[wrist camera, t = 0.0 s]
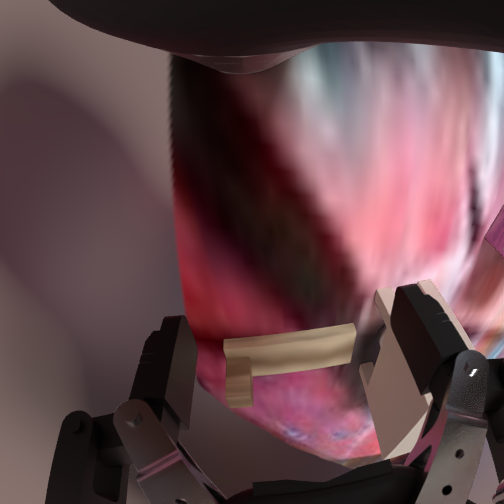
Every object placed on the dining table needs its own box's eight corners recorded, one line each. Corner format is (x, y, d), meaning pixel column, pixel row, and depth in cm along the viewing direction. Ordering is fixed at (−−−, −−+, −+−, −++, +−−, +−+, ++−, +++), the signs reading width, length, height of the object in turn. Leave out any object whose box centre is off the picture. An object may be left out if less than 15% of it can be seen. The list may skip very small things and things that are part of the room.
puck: (379, 321, 37) (383, 332, 35) (410, 314, 36) (415, 324, 35) (373, 344, 39) (377, 354, 38) (402, 337, 39) (407, 347, 37)
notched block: (376, 289, 33) (429, 408, 19) (430, 278, 32) (491, 380, 19) (358, 373, 43) (381, 461, 29) (400, 362, 43) (430, 445, 29)
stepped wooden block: (223, 337, 37) (221, 389, 30) (352, 321, 36) (369, 369, 30) (233, 366, 41) (232, 414, 34) (346, 352, 40) (359, 397, 34)
